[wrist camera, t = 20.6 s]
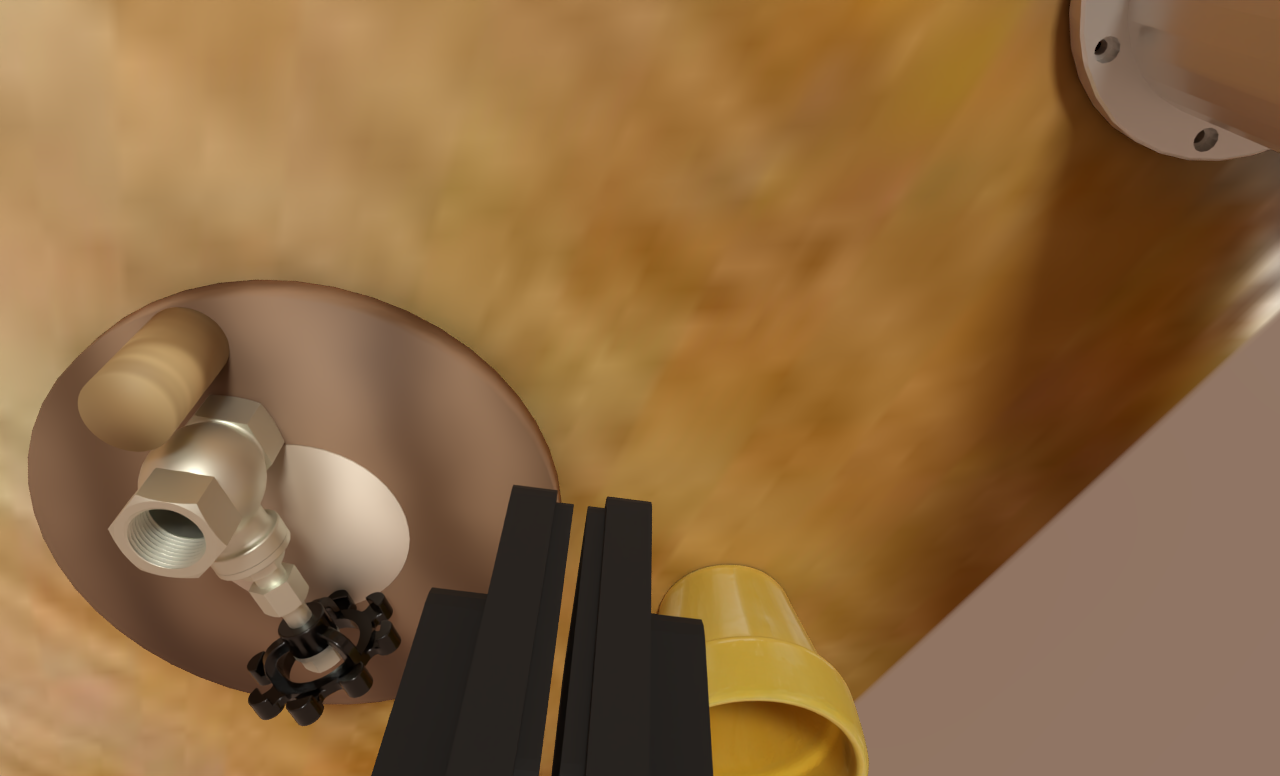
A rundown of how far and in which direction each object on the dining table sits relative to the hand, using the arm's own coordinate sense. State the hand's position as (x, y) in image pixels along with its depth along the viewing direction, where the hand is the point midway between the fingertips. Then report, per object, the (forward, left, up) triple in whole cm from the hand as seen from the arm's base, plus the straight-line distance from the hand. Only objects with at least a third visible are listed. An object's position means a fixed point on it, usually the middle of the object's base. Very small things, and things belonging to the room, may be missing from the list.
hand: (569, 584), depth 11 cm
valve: (+2, +20, -22) cm, 30 cm away
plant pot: (-19, +17, -25) cm, 36 cm away
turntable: (+1, +21, -24) cm, 32 cm away
